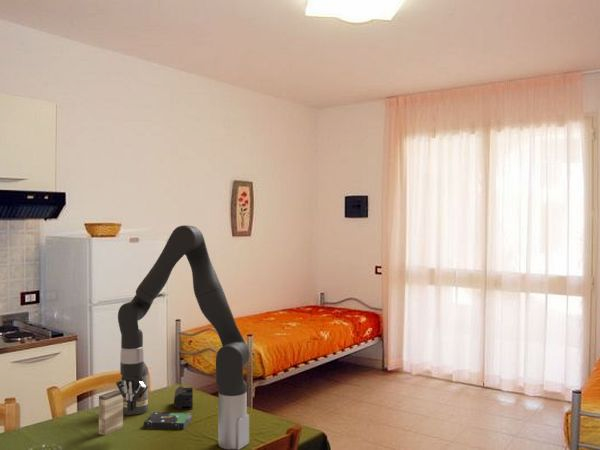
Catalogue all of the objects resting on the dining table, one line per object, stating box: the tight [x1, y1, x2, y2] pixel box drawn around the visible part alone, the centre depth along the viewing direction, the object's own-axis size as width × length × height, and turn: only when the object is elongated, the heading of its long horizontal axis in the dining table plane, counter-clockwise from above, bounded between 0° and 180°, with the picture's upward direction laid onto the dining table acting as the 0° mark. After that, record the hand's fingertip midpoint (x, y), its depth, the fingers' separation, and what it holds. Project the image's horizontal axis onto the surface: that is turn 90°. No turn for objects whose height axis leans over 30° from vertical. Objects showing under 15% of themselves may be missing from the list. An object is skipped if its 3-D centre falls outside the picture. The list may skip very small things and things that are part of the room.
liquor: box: [123, 361, 149, 416], centre depth 202 cm, size 9×9×30 cm
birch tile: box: [98, 389, 124, 436], centre depth 183 cm, size 3×8×13 cm, turn 152°
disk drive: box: [143, 411, 193, 430], centre depth 190 cm, size 10×3×15 cm
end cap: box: [173, 385, 194, 411], centre depth 207 cm, size 10×7×7 cm
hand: (131, 410), depth 178 cm, fingers closed
